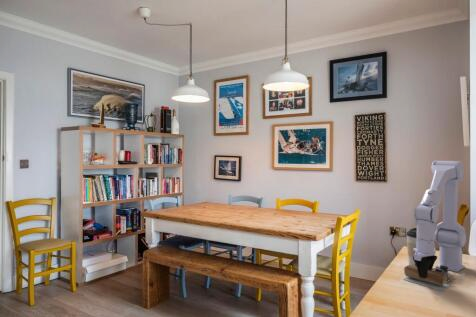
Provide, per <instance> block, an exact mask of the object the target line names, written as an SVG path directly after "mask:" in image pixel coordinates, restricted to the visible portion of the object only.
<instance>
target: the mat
mask: <svg viewBox="0 0 476 317" xmlns="http://www.w3.org/2000/svg"><path fill="white" fill-rule="evenodd" d="M403 281H407V282H410V283H413V284H416V285H420V286H424V287H427V288H430V289H434V290H438V291H441V292H444V291H445V290H447V289H448V288H449V287H451V284H448V283H446V284H443V285H442V286H440V285H437V284H433V283H430V282H426V281H423V280H419V279H415V278H412V277H408V276H406V277H405V278H403Z"/></svg>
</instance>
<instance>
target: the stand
mask: <svg viewBox="0 0 476 317" xmlns="http://www.w3.org/2000/svg"><path fill="white" fill-rule="evenodd" d="M415 266H416V264H415ZM434 271H437V272H441V273H445V276H447V282H449V281H450V280H451V276H449V270H448V266H443V265H440V268H439V267H435V268H434Z"/></svg>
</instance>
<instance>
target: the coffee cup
mask: <svg viewBox="0 0 476 317" xmlns="http://www.w3.org/2000/svg"><path fill="white" fill-rule="evenodd" d="M416 243H417V227H413V228H410V229H409V230H408V231H407V232H406V249H407V257H408V258H407V259H408V265H413V266H415V262H414V260H413V257H414V254H415V253H416V251H413V249H414V248H416Z"/></svg>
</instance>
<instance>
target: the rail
mask: <svg viewBox="0 0 476 317" xmlns="http://www.w3.org/2000/svg"><path fill="white" fill-rule="evenodd" d="M403 271H404V275H405V276H406V277H412V278H415V279H419V280H423V281H426V282H430V283H433V284H437V285H440V286H442V285H443V284H448V283H447V282H448V281H447V276H445V273H441V272H437V271H435V270H433V269H432V270H429V269H428V273H427V277H426V279H425V278H421V277H419V274H418V269H417V266H413V265H409V264H407V265H405V266H404V270H403Z"/></svg>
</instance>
